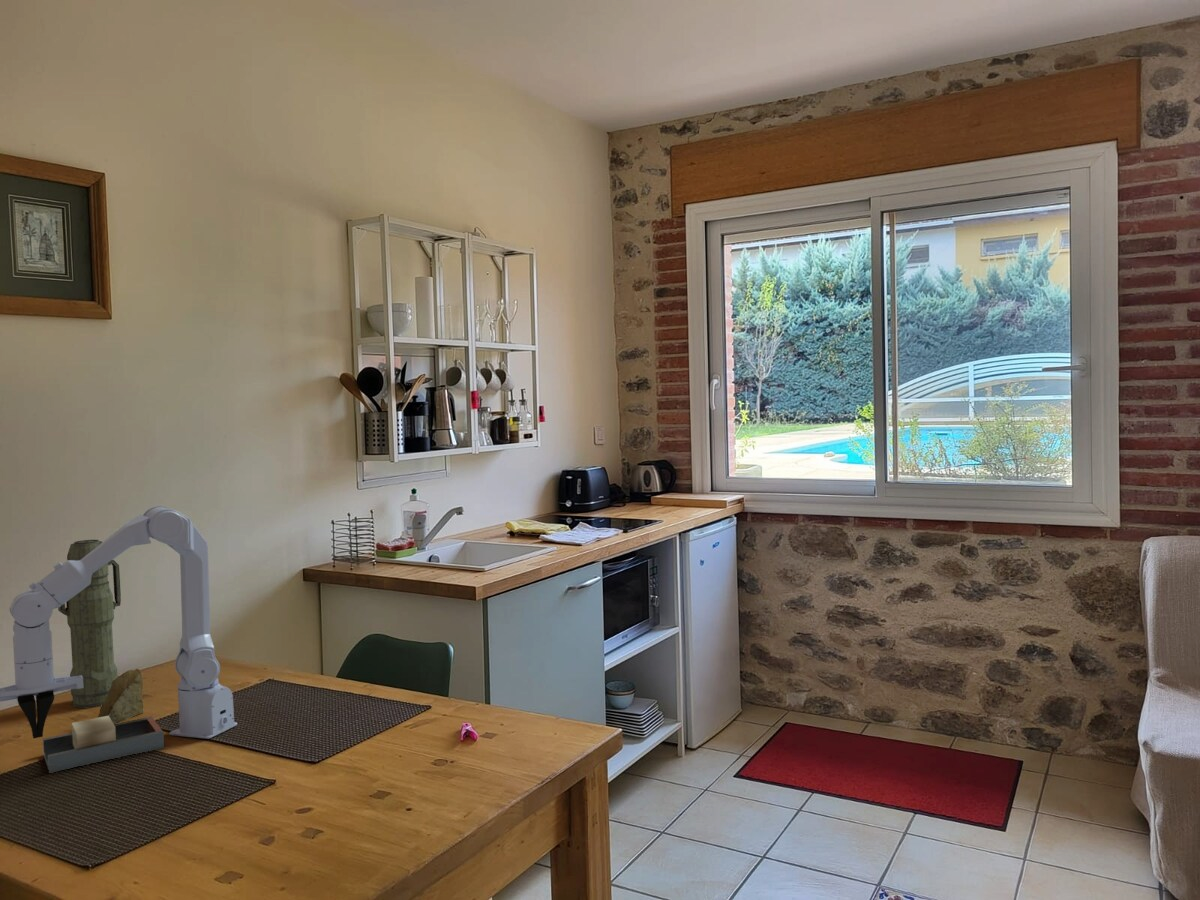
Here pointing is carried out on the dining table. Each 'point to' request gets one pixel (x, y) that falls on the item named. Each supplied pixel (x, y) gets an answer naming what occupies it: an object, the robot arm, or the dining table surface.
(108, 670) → the thermos
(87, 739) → the block
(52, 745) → the chute
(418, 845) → the dining table surface
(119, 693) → the rock
